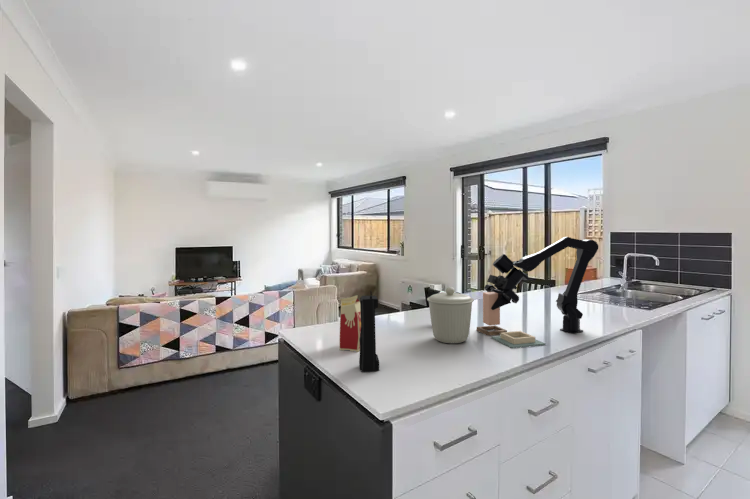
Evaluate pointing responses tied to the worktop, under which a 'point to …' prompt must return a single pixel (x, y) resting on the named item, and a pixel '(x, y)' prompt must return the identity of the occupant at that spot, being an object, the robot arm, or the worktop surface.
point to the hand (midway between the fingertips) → (488, 308)
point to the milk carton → (350, 324)
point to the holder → (489, 333)
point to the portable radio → (368, 334)
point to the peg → (488, 314)
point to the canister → (450, 316)
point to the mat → (517, 339)
